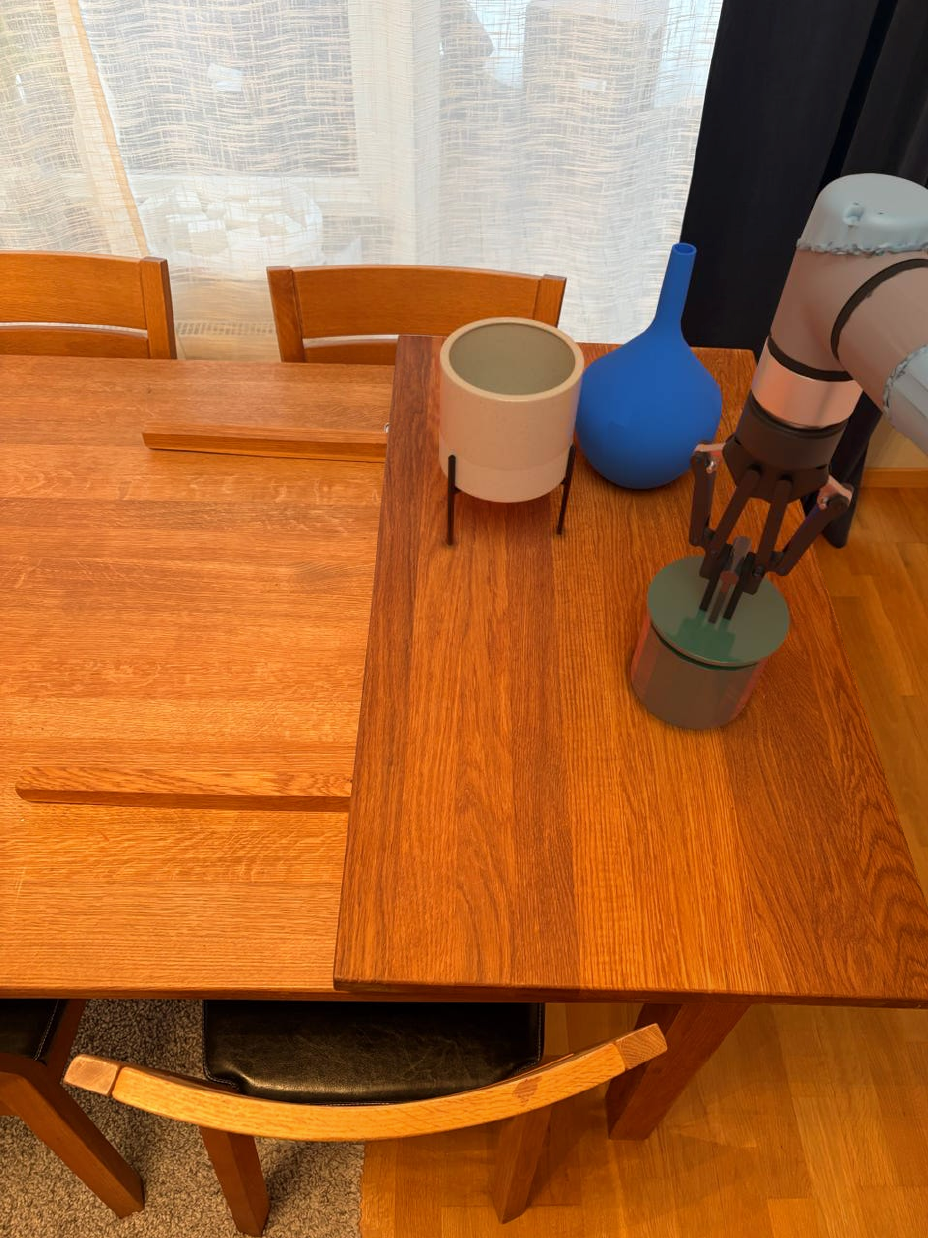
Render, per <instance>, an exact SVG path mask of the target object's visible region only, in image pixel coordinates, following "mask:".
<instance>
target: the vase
mask: <svg viewBox="0 0 928 1238" xmlns="http://www.w3.org/2000/svg"><path fill="white" fill-rule="evenodd" d="M696 254H697V248H696V247H695V246H694V245H693V244H691V243H687V242H677V243H674V244H673V245H672V246H671V249H670V253H669V258H668V261H667V264H666V269H665V272H664V276H663V281H662V285H661V289H660V292H659V296H658V301H657V306H656V310H655V313H654V317H653V319H652V321H651V323H650V324H649V325H648V327H647V328H646V329H645V330H643V332H641V333H639V334H638V335H636V336H635V337H633V338H632V339H630V340H629V341H627V342H625V343H623V344H622V345H620V346H619V347H617V348H615V349H613V350H611V351H609V352H607V353H605V354H604V355H601V356H600V357H598V358H596V359H594V360H593V361H592V362H591V363H590V364H589V365H588V366H586V367H585V368H584V371H583V377H582V384H581V390H580V396H579V403H578V409H577V415H576V422H575V428H574V430H575V434H576V437H577V441H578V444H579V446H580V449H581V451H582V453H583V455H584V456H585V458H586V459H587V461H588V463H589V464H590V466H592V468H593V469H594V470H595V471H596V472H597V473H598V474H600V475H602V477H604V478H605V479H606V480H608V481H609V482H611V483H613V484H615V485H617V486H620V487H624V488H627V489H631V490H632V489H633V490H644V489H645V490H646V489H653V488H658V487H662V486H664V485H667V484H670V483H671V482H673V481H675V480H676V479H678V478H679V477H681V476H682V475H684V474H686V473H687V472H688V471H690V470H692V468H691V465H690V458H691V456H692V453H693V452H694V450H695V448H696V446H697V444H698V442H699V441H700V440H702V439H707V440H709V441H710V442H711V444H713V443H714V441H715V439H716V436H717V433H718V430H719V426H720V423H721V419H722V413H723V397H722V391H721V388H720V386H719V384H718V383H717V380H716V379H715V377H713V375H712V374H711V373H710V372H709V370H708V369H707V368H706V367H705V366H704V364H703V363H702V362H701V361H700V360H699V359H698V358H697V356H696V354H695V352H694V351H693V350H692V349H691V347H690V345H689V343H688V342H687V341H686V339H685V338H684V335H683V331H682V323H681V321H682V316H683V313H684V310H685V309H684V308H685V305H686V301H687V296H688V292H689V286H690V284H691V283H690V281H691V278H692V273H693V270H694V269H693V268H694V263H695V260H696Z"/></svg>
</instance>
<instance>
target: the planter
mask: <svg viewBox="0 0 928 1238" xmlns="http://www.w3.org/2000/svg"><path fill="white" fill-rule="evenodd" d="M439 351H440V352H439V393H438V394H439V398H438V399H439V403H438V404H439V405H438V406H439V407H438V409H439V412H438V414H439V415H438V417H439V418H438V424H439V425H438V426H439V427H438V433H439V434H438V442H439V443H438V461H439V466H440V468H441V471H442V473H443V474H444V476H445V477H446V479H447V498H446V501H447V503H446V504H447V506H446V507H447V508H446V510H447V511H446V544H447V545H448V546H452V545H453V544H454V543H455V542H454V541H455V540H454V537H455V503H456V499H455V496H456V495H457V494H459V493H462V492H463V493H465V494H468V495H469V496H472V497H474V498H477V499H480V500H484V501H488V502H494V503H505V504H506V503H509V504H510V503H511V504H513V503H522V502H527V501H531V500H535V499H537V498H540V497H542V496H545V495H547V494H549V493H550V492H552V491H553V490H555V489H556V488H557V487H558V486H559V485H561V486H563V490H562V497H561V503H560V509H559V516H558V522H557V529H556V534H558V535H563V533H564V528H565V523H566V516H567V510H568V504H569V497H570V491H571V485H572V479H573V474H574V467H575V461H576V457H577V456H576V455H577V449H578V445H575V444H573V440H574V433H575V422H576V415H577V409H578V403H579V396H580V390H581V384H582V377H583V374H584V372H585V356H584V354H583V351H582V349H581V348H580V346H579V344H578V343H577V342H576V341H575V340H574V339H573V338H572V337H571V336H570V335H569V334H567V333H566V332H564V331H562V330H561V329H559V328H557V327H556V326H553V325H551V324H548V323H546V322H542V321H540V320H535V319H530V318H526V317H525V318H524V317H515V316H500V317H498V316H497V317H488V318H484V319H479V320H476V321H472V322H469V323H468V324H465V325H463V326H460V327H459V328H457V329H456V330H455V331H453V332H452V333H450V334H449V336H448V337H446V339H445V340H444V342H443V343H442V346H441V348H440V350H439Z"/></svg>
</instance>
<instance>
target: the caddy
mask: <svg viewBox="0 0 928 1238" xmlns="http://www.w3.org/2000/svg"><path fill="white" fill-rule="evenodd" d="M769 659H770V657H768V658H766V659H764V660H762V661H760V662H757V663H754V664H750V665H746V666H737V667H725V666H717V665H712V664H706V663H704V662H701V661H698V660H695V659H693V658H691V657H688V656H686V655H684V654H683V653H681V652H679V651H678V650H676V649H675V648H674V647H672V646H671V645H670V644H669V643H667V642H666V641H665V640H664V639H663V638H662V637H661V636H660V634H659V633H658V632H657V630H656V629H655V628H654V626H653V624H652V622H651V620H650V618H649V615H648V612H647V611H646V613H645V617H644V619H643V623H642V627H641V630H640V633H639V636H638V639H637V642H636V646H635V650H634V653H633V656H632V660H631V663H630V682H631V686H632V690H633V692H634V694H635V696H636V698H637V699H638V701H639V702H640V703H641V704H642V706H643V707H644V708H645V709H646V710H647V711H648V712H649V713H650V714H652V715H653V716H654V717H656V718H657V719H659V720H660V721H662V722H663V723H666V724H669V725H671V726H674V727H677V728H680V729H683V730H689V731H708V730H709V731H710V730H713V729H717V728H720V727H723V726H725V725H727V724H729V723H730V722H732V721H733V720H735V718H736V717H738V716H739V714H740V713H741V712H742V711H743V710H744V708H745V706H746V704H747V702H748V701H749V698H750V696H751V694H752V693H753V691H754V689H755V687H756V685H757V683H758V681H759V679H760V676H761V675H762V673H763V671H764V669H765V667H766V665H767V663H768V661H769Z"/></svg>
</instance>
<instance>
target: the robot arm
mask: <svg viewBox="0 0 928 1238" xmlns="http://www.w3.org/2000/svg"><path fill="white" fill-rule="evenodd" d="M795 247H796V250H795V252H794V256H793V258H792V263H791V265H790V268H789V271H788V275H787V278H786V280H785V283H784V287H783V289H782V293H781V296H780V299H779V302H778V306H777V308H776V311H775V314H774V317H773V320H772V323H771V327H770V331H769V334H768V336H767V337H766V339H765V342H764V345H763V349H762V351H761V354H760V357H759V360H758V363H757V365H756V369H755V372H754V375H753V378H752V382H751V385H750V387H751V389H750V390H749V391H748V393H747V396H746V399H745V401H744V404H743V408H742V410H741V414H740V417H739V419H738V422H737V424H736V428H735V430H734V432H733V433H731V434H730V435H729V436H728V437H727V438H726V440H725V442H721V443H712V444H711V442H710V441H709V440H707V439H702V440H700V441H699V442H698V444H697V446H696V448H695V450H694V452H693V453H692V456H691V458H690V465H691V471H692V474H693V477H694V484H693V493H692V503H691V512H690V521H689V523H690V524H689V531H688V543H689V544H690V545H691V546H693V547H694V548H695V547H696V548H698V547H701V549H702V550H703V551H704V556H705V557H704V559H703V562H702V565H701V568H700V571H699V576H700V577H702V578H705V579H708V580H709V583H708V585H707V588H706V591H705V593H704V596H703V599H702V601H701V604H700V607H699V608H700V609H703V610H706V611H707V609H708V606H709V604H710V601H711V599H712V596H713V594H714V592H715V589H716V586H717V584H718V581H719V579H720V574H721V571H722V569H723V567H724V565H725V562H726V560H727V557H728V555H729V552H730V550H731V548H732V545H733V544H731V543H727V541H728V540H729V538H730V536H731V534H732V532H733V530H734V528H735V526H736V524H737V522H738V520H739V518H740V516H741V514H742V512H743V510H744V509H745V508H746V506H747V504H748V503H749V502H748V501H749V500H750V499H759V500H762V501H764V502H766V503H768V504H769V508H768V511H767V515H766V520H765V523H764V526H763V530H762V533H761V537H760V540H759V543H758V546H757V550H756V552H754V551H751V550H750V552H749V554H748V557H747V559H746V562H745V565H744V567H743V570H742V573H741V575H740V578H739V580H738V582H737V583H736V586H735V588H734V591H733V593H732V595H731V598H730V600H729V603H728V606H727V608H726V611H725V613H724V616H723V617H725V618H727V619H730V620H731V618H732V616H733V613H734V611H735V609H736V606H737V604H738V602H739V599H740V597H741V595H742V592H745V593H748V594H751V595H754V594H755V593H756V592H757V590H758V588H759V586H760V583H761V581H762V579H763V578H764V576H765V577H766V575H767V573H775V574H776V575H777V576H778V577H779V576H780V577H787V576H788V575H789V574H790V573H791V572H792V570H793V569H794V568H795V567H796V565H797V564H798V563H799V561H800V560H801V559H802V557H803V556H804V555H805V554H806V553H807V551H808V550H809V548H810V547H811V545H812V544H814V542H815V541H816V539H817V538H818V537H819V535H820V534H821V533H822V531H823V530H824V529H825V527H826V526H827V525H828V524H829V523H830V522H831V521H834V520H835V519H837V518H838V517H840V516H842V515H843V514H845V513H847V512H848V510H849V507H850V504H851V501H852V498H853V493H854V489H855V488H854V486H853V485H852V484H850V483H848V482H843V483H839V481H838V480H836V479H835V478H834V477H833V476H832V471H833V467H832V462H831V461H832V458H833V455H834V453H835V451H836V449H837V447H838V445H839V443H840V440H841V438H842V436H843V435H844V433H845V429H846V427H847V426H848V423H849V420H850V416H851V415H852V414H853V413H854V410H855V408H856V406H857V404H858V402H859V400H860V397H861V396H862V394H863V392H864V393H865V394H866V395H867V396H868V397H869V398H870V400H871V401H872V402H873V404H875V405H876V407H877V408H878V409H879V410H880V411H881V413H883V415H884V417H885V418H886V419H887V422H888V423H889V425H891V426H892V428H893V429H894V430H895V431H896V432H897V433H898V434H901V435H902V436H903V437H904V438H905V439H908V440H909V441H910V442H911V443H913V445H914V446H915V447H916V448H917V449H919V451H921V452H922V453H923V455H925V456H926V457H927V458H928V189H927V188H926V187H924V186H923V185H920V184H918V183H917V182H914V181H911V180H908V179H905V178H902V177H900V176H899V177H898V176H895V175H890V174H883V173H873V172H872V173H871V172H870V173H855V174H849V175H848V174H847V175H844V176H842V177H838V178H836V179H835V180H832V181H831V182H829V183H828V184H826V186H825V187H824V188H822V190H821V191H820V192H819V194H818V196H817V198H816V200H815V203H814V205H813V208H812V210H811V212H810V214H809V217H808V219H807V222H806V225H805V227H804V229H803V232H802V234H801V237H800V238H798V239H797V241H796V246H795ZM722 461H724V462H725V465H726V468H727V470H728V472H729V474H730V476H731V479H732V481H733V482H734V485H735V487H736V488H735V489H734V491H733V493H732V496H731V498H730V500H729V502H728V504H727V506H726V507H725V510H724V512H723V514H722V517H721V518H720V521H719V522H718V524H717V527H716V528H715V530H714V529H712V528H711V527H710V525H711V515H712V507H713V500H714V490H715V484H716V478H717V477H716V476H717V471H718V469H720V466H721V464H722ZM817 491H819V492H818V495H817V499H816V503H815V504H814V506H813V507H812V509H811V510H810V511H809V513H808V514H807V516H806V517H805V518H804V520H803V521H802V522H801V523H800V525H799V526H798V528H797V529H796V530H795V532H794V533H793V534H792V536H791V537H790V539H789V540H788V541H787V543H786V544H785V545H784V547H783V548H782V549H781V551H780V550H779V551H778V550H775V547H776V544H777V541H778V539H779V538H778V537H779V535H780V531H781V529H782V525H783V522H784V518H785V516H786V512H787V509H788V505H789V504H792V503H794V502H796V501H798V500H800V499H802V498H804V497H806V496H808V495H811V494H813V493H815V492H817Z"/></svg>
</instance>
